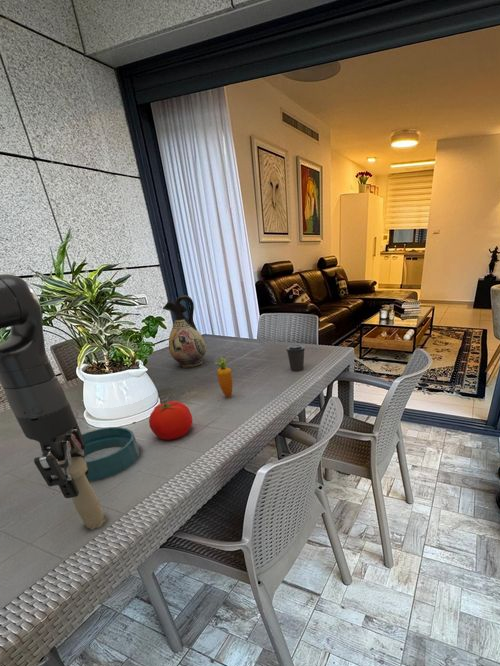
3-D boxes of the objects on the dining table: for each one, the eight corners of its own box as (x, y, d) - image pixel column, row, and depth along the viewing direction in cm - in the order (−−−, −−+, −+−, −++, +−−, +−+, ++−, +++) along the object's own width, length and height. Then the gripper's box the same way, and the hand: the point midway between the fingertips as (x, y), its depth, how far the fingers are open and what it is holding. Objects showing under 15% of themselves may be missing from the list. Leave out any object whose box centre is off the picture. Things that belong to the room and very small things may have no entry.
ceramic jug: (171, 372, 152) (153, 299, 137) (175, 361, 165) (159, 293, 150) (211, 367, 155) (198, 296, 140) (212, 357, 168) (200, 291, 154)
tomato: (176, 422, 111) (168, 392, 106) (203, 430, 106) (197, 399, 101) (144, 440, 101) (134, 408, 96) (172, 449, 97) (163, 416, 92)
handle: (110, 512, 75) (85, 454, 68) (110, 531, 70) (84, 470, 63) (84, 520, 73) (56, 461, 66) (83, 541, 68) (52, 479, 61)
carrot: (232, 402, 123) (225, 360, 115) (219, 401, 123) (211, 360, 116) (238, 396, 127) (231, 356, 120) (225, 395, 128) (217, 355, 120)
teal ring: (55, 490, 83) (45, 469, 80) (77, 452, 97) (69, 433, 94) (134, 475, 87) (127, 455, 84) (144, 441, 101) (138, 422, 98)
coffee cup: (299, 373, 145) (297, 349, 140) (283, 370, 149) (281, 347, 144) (310, 367, 151) (309, 344, 146) (294, 364, 155) (293, 342, 150)
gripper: (33, 392, 64) (68, 467, 72) (-7, 429, 52) (41, 514, 60) (79, 386, 65) (108, 460, 74) (51, 421, 53) (90, 505, 62)
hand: (78, 484), depth 67 cm, fingers closed on handle, 6 cm apart
